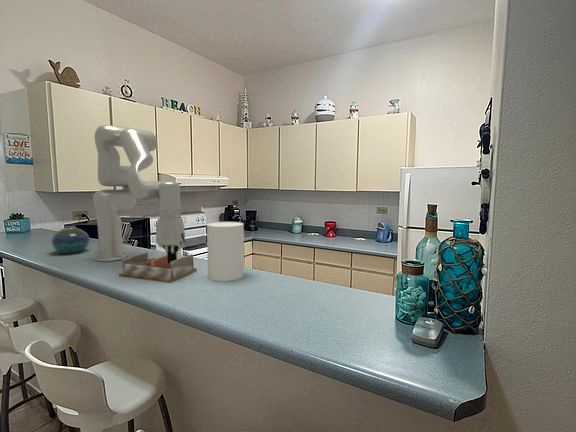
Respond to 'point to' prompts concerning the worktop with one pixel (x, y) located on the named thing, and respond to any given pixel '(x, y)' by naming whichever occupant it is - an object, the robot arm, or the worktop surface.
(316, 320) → the worktop surface
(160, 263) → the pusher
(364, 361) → the worktop surface
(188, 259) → the grey brown open box
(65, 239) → the vase
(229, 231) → the canister
